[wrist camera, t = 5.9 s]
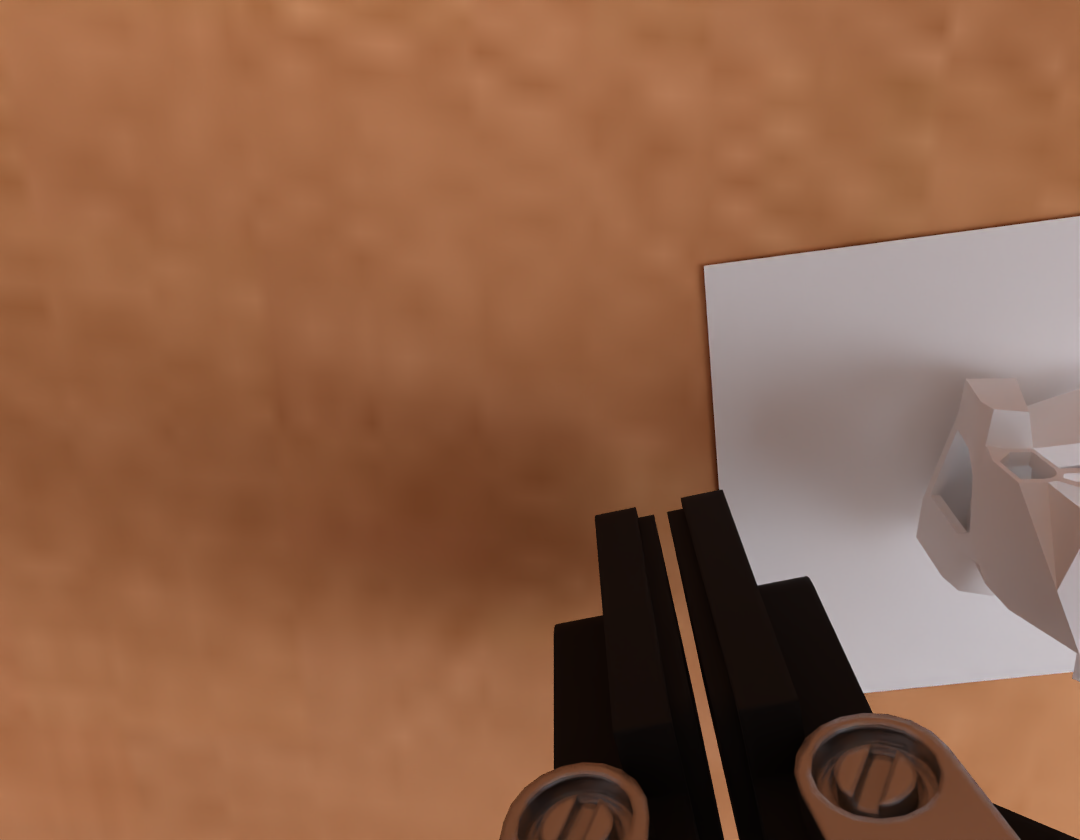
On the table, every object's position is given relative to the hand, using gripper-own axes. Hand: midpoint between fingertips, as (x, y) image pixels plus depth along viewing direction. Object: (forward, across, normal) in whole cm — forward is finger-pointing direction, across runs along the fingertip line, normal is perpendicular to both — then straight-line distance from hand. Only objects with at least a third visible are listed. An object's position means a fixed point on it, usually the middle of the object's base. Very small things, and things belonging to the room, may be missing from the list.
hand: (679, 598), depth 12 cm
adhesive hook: (+2, -6, 0) cm, 6 cm away
